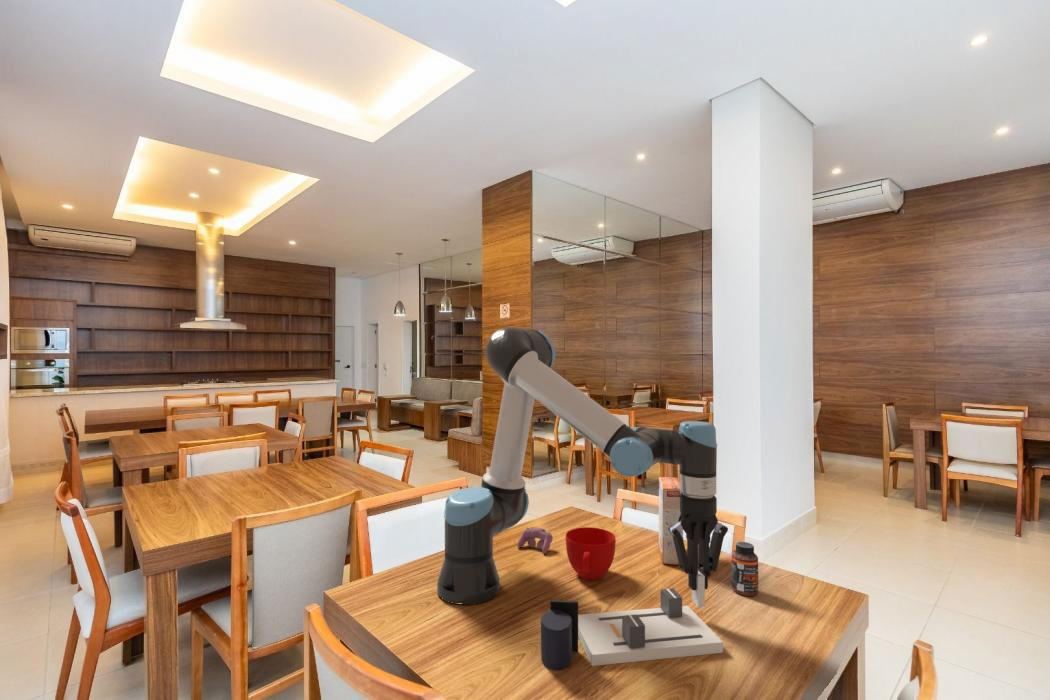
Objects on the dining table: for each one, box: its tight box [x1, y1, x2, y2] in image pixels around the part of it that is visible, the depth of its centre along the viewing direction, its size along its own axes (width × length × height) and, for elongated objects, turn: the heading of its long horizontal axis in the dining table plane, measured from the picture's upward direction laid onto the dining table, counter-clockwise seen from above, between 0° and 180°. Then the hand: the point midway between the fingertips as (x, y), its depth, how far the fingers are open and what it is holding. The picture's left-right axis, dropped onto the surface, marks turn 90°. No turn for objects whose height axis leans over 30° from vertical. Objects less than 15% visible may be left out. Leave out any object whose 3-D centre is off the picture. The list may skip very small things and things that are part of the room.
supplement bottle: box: [730, 541, 759, 597], centre depth 118 cm, size 6×6×11 cm
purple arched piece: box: [517, 526, 553, 555], centre depth 145 cm, size 10×5×7 cm, turn 59°
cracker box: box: [658, 476, 684, 566], centre depth 140 cm, size 14×6×21 cm, turn 168°
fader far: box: [660, 588, 683, 618], centre depth 104 cm, size 3×4×4 cm
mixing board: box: [578, 605, 724, 667], centre depth 98 cm, size 26×14×2 cm, turn 99°
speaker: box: [540, 599, 579, 671], centre depth 91 cm, size 8×6×10 cm
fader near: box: [622, 614, 645, 648], centre depth 93 cm, size 3×4×4 cm
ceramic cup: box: [565, 526, 617, 581], centre depth 126 cm, size 13×17×10 cm
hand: (698, 603), depth 105 cm, fingers closed
